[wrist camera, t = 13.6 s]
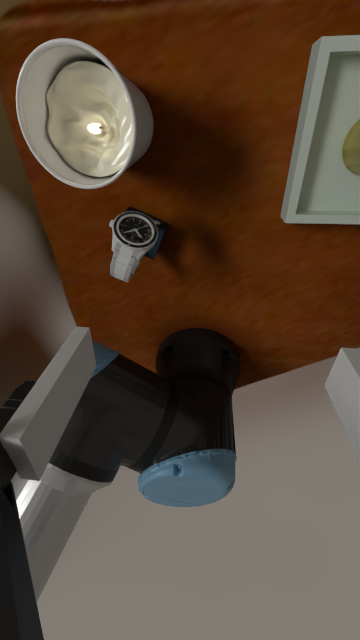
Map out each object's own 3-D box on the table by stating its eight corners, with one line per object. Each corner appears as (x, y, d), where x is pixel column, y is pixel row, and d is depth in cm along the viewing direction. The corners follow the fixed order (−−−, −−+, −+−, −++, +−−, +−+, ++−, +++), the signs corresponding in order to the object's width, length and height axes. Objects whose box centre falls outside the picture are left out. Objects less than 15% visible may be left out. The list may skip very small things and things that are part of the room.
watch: (173, 209, 37) (159, 236, 28) (153, 261, 42) (136, 299, 33) (133, 191, 36) (106, 213, 27) (118, 246, 41) (90, 280, 32)
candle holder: (77, 161, 35) (22, 174, 25) (76, 56, 29) (5, 21, 20) (154, 180, 35) (129, 200, 25) (167, 79, 30) (143, 56, 20)
